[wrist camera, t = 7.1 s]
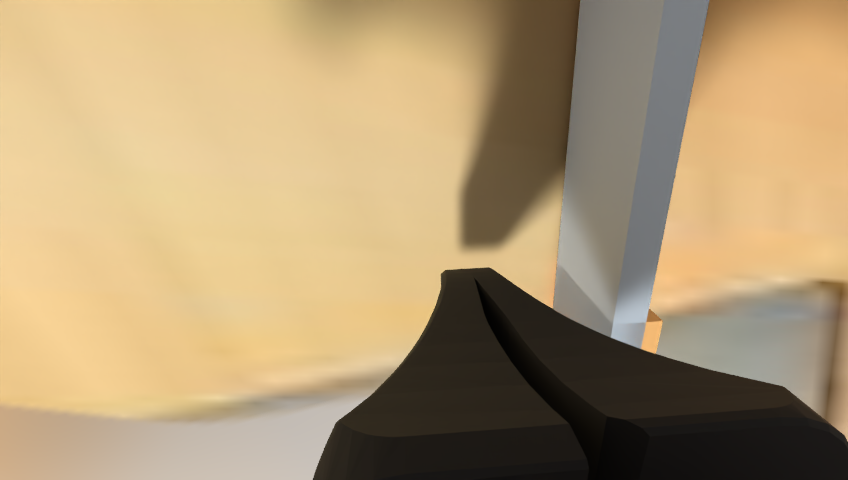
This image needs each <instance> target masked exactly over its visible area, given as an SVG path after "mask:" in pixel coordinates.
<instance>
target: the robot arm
mask: <svg viewBox="0 0 848 480" xmlns="http://www.w3.org/2000/svg"><path fill="white" fill-rule="evenodd" d="M313 480H848V442H847V440H846V438H845V436H844V435H843V434H842V433H841V432H839V431H838V430H837V429H836V428H835V427H833V426H832V425H831V424H830V423H828V422H827V421H826V420H825V419H823V418H822V417H821V416H820V415H818V414H817V413H816V412H815V411H813V410H812V409H811V408H810V407H808V406H807V405H806V404H805V403H803V402H802V401H801V400H800V399H798V398H797V397H796V396H795V395H794V394H792V393H791V392H790V391H789V390H787V389H786V388H785V387H783V386H779V385H774V384H770V383H766V382H761V381H757V380H752V379H748V378H743V377H739V376H735V375H730V374H726V373H721V372H717V371H713V370H709V369H705V368H701V367H698V366H694V365H691V364H687V363H684V362H680V361H677V360H673V359H670V358H667V357H664V356H661V355H658V354H654V353H651V352H648V351H645V350H643V349H640V348H637V347H634V346H632V345H629V344H626V343H624V342H621V341H618V340H616V339H613V338H611V337H608V336H606V335H604V334H601V333H599V332H597V331H595V330H593V329H590V328H588V327H586V326H584V325H582V324H580V323H578V322H576V321H574V320H572V319H570V318H568V317H566V316H564V315H562V314H561V313H559V312H557V311H555V310H554V309H552V308H550V307H548V306H547V305H545V304H543V303H542V302H540V301H538V300H537V299H535V298H534V297H532V296H531V295H529V294H528V293H526V292H525V291H523V290H522V289H520V288H519V287H517V286H516V285H514V284H513V283H512V282H510V281H509V280H507V279H506V278H504V277H503V276H502V275H500V274H499V273H497V272H496V271H494V270H493V269H491V268H473V269H457V270H445V271H444V272H443V273H442V274H441V290H440V294H439V297H438V300H437V303H436V306H435V309H434V311H433V313H432V315H431V317H430V320H429V322H428V324H427V326H426V328H425V330H424V331H423V333H422V335H421V337H420V338H419V340H418V341H417V343H416V344H415V346H414V347H413V349H412V350H411V351H410V353H409V354H408V355H407V357H406V358H405V359H404V361H403V362H402V363H401V364H400V366H399V367H398V368H397V369H396V370H395V372H394V373H393V374H392V375H391V376H390V377H389V378H388V379H387V380H386V381H385V382H384V383H383V384H382V385H381V386H380V387H379V388H378V389H377V390H376V391H375V392H374V393H373V394H372V395H371V396H370V397H368V398H367V399H366V400H365V401H363V402H362V403H361V404H359V405H358V406H357V407H356V408H354V409H353V410H352V411H351V412H349V413H348V414H347V415H345V416H344V417H343V418H341V419H340V420H339V421H337V422H336V424H335V426H334V428H333V430H332V433H331V435H330V437H329V439H328V441H327V444H326V446H325V448H324V451H323V453H322V456H321V458H320V461H319V463H318V466H317V469H316V472H315V475H314V478H313Z"/></svg>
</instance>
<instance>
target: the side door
mask: <svg viewBox="0 0 848 480" xmlns="http://www.w3.org/2000/svg"><path fill="white" fill-rule="evenodd" d="M708 5H709V0H580V9H579V21H578V32H577V43H576V55H575V66H574V77H573V89H572V100H571V111H570V123H569V134H568V145H567V156H566V168H565V179H564V190H563V202H562V213H561V224H560V236H559V247H558V258H557V269H556V281H555V292H554V303H553V309H554V310H555V311H557V312H559V313H561V314H562V315H564V316H566V317H568V318H570V319H572V320H574V321H576V322H578V323H580V324H582V325H584V326H586V327H588V328H590V329H593V330H595V331H597V332H599V333H601V334H604V335H606V336H608V337H611V338H613V339H616V340H618V341H621V342H624V343H626V344H629V345H632V346H634V347H637V348H640V349H643V350H645V351H648V352H651V353H654V354H656V350H657V346H658V341H659V336H660V332H661V327H662V322H663V321H662V320H661V319H660V318H659V317H658V316H657V315H656V314H655V313H654V312H652V311H651V310H650V309H649V305H650V300H651V295H652V290H653V285H654V280H655V275H656V270H657V265H658V260H659V255H660V249H661V244H662V239H663V234H664V229H665V224H666V219H667V214H668V209H669V204H670V198H671V193H672V188H673V183H674V178H675V173H676V168H677V163H678V158H679V153H680V148H681V142H682V137H683V132H684V127H685V122H686V117H687V112H688V107H689V102H690V97H691V91H692V86H693V81H694V76H695V71H696V66H697V61H698V56H699V51H700V46H701V41H702V35H703V30H704V25H705V20H706V15H707V10H708Z"/></svg>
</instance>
